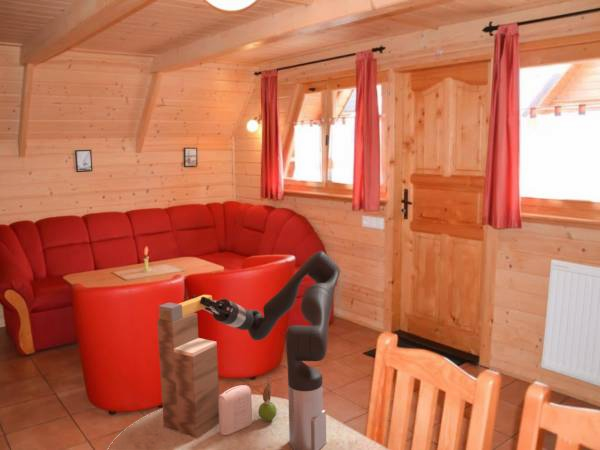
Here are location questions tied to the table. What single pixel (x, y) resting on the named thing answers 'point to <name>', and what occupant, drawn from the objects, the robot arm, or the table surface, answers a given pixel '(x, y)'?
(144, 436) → the table surface
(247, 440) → the table surface
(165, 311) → the bar
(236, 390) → the pink rounded block
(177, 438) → the table surface
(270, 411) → the green bud vase
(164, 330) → the step stand
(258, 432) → the table surface
